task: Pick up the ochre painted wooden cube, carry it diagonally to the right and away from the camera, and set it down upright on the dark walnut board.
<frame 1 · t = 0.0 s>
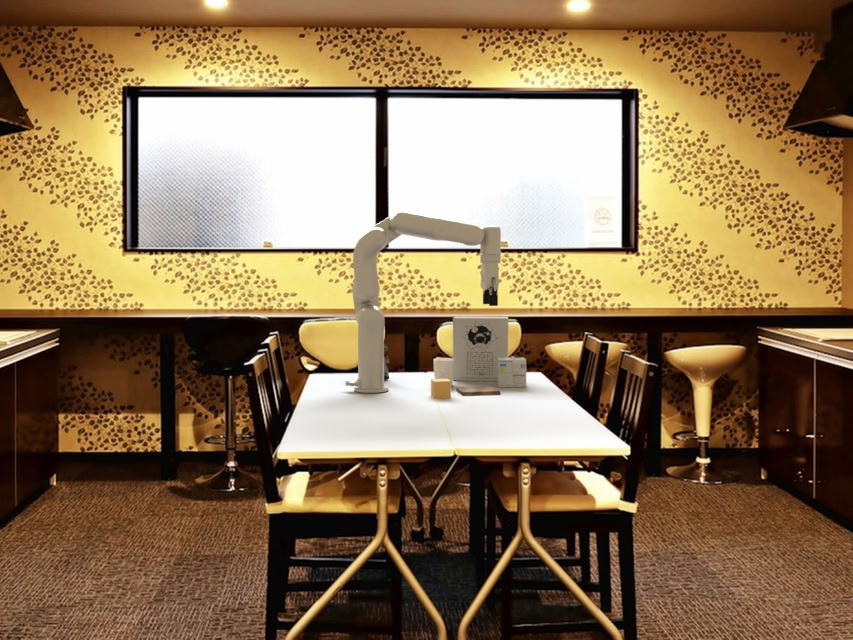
hand: (490, 304, 346), 31 cm above the table, tool pointing down, fingers open, 9 cm apart
cereal box: (480, 380, 368), on the table
white cup: (443, 385, 354), on the table
light bulb box: (511, 386, 352), on the table
ochre cube: (440, 396, 328), on the table
figurine: (373, 380, 368), on the table
walnut board: (478, 392, 337), on the table
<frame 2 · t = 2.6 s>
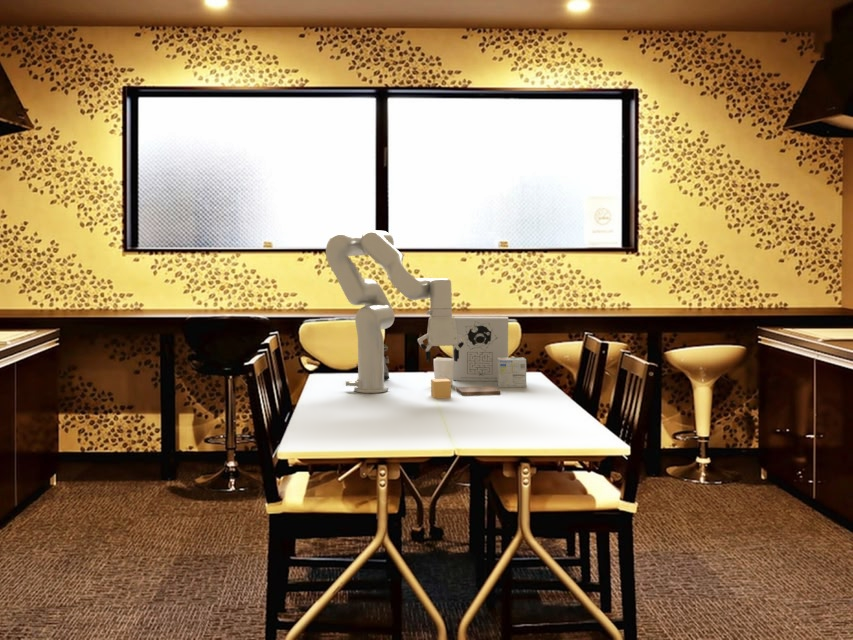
hand: (442, 361, 327), 13 cm above the table, tool pointing down, fingers open, 9 cm apart
nothing on the table moved.
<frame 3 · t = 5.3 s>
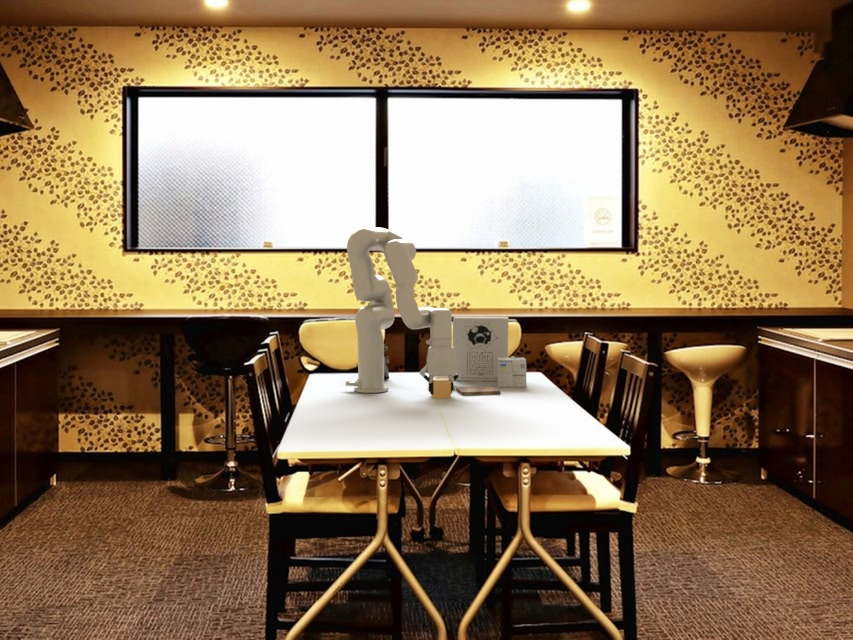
hand: (440, 393, 328), 1 cm above the table, tool pointing down, fingers closed on ochre cube, 6 cm apart
ochre cube: (440, 396, 328), on the table, touching gripper
everything else where it was.
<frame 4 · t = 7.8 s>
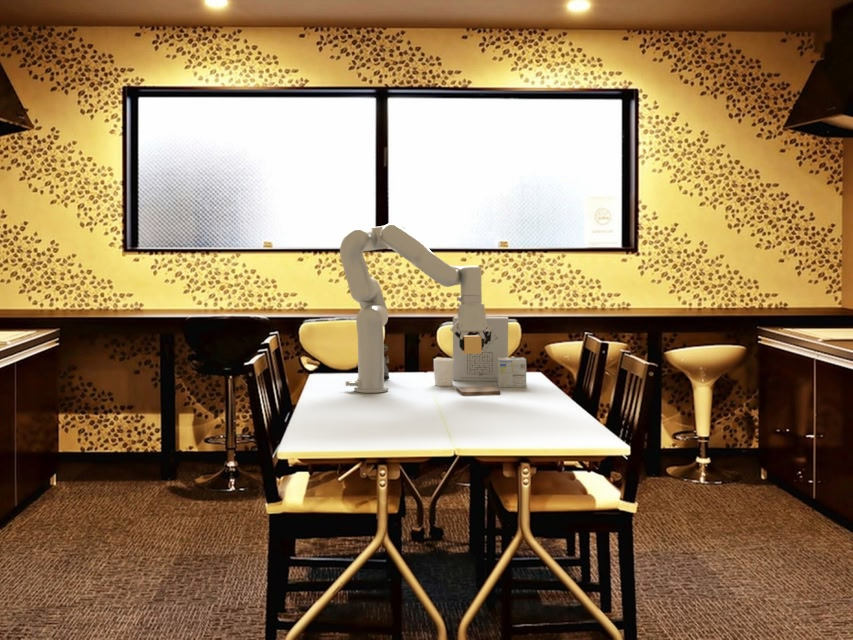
hand: (471, 349, 334), 16 cm above the table, tool pointing down, fingers closed on ochre cube, 6 cm apart
ochre cube: (471, 352, 334), point 15 cm above the table, touching gripper
everything else where it was.
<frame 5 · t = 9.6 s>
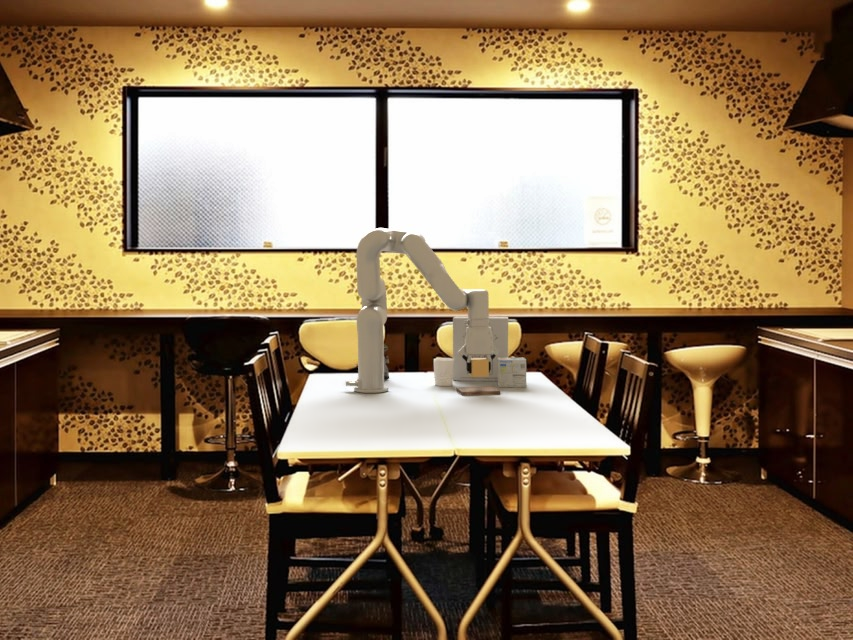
hand: (478, 372, 336), 7 cm above the table, tool pointing down, fingers closed on ochre cube, 6 cm apart
ochre cube: (478, 375, 336), point 6 cm above the table, touching gripper
everything else where it was.
when the fingers open (4 cm above the table, at t = 10.8 s): ochre cube drops 1 cm, resting on walnut board.
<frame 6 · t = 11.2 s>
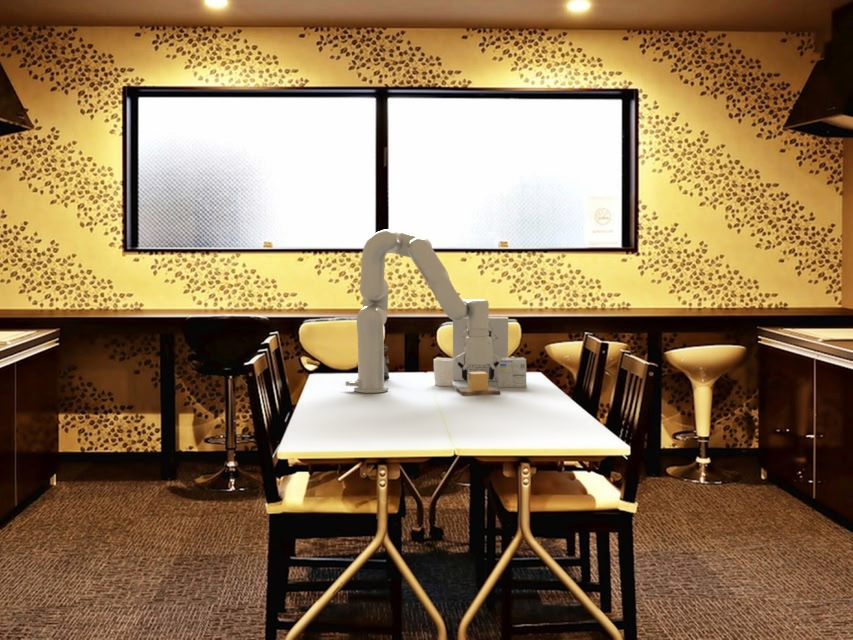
hand: (478, 379, 336), 5 cm above the table, tool pointing down, fingers open, 9 cm apart
ochre cube: (477, 389, 337), point 1 cm above the table, touching walnut board
everything else where it was.
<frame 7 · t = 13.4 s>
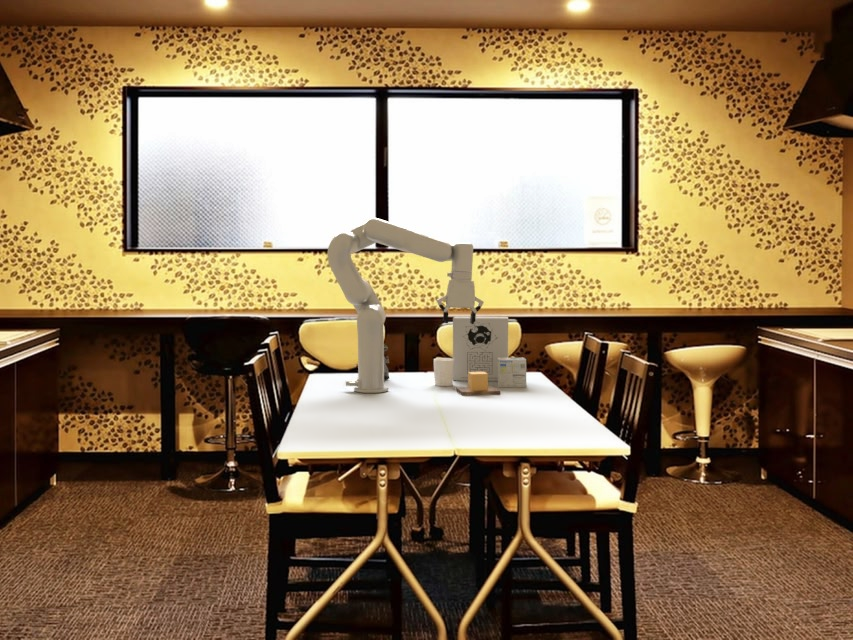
hand: (459, 323, 337), 25 cm above the table, tool pointing down, fingers open, 9 cm apart
nothing on the table moved.
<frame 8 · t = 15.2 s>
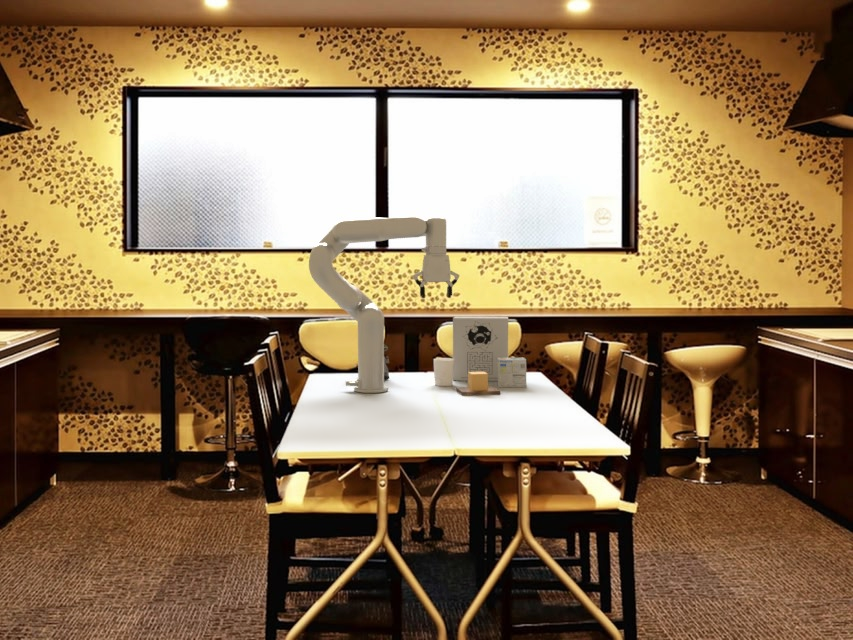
hand: (436, 297, 340), 34 cm above the table, tool pointing down, fingers open, 9 cm apart
nothing on the table moved.
at the end: ochre cube inside the target area on the walnut board (0.1 cm from its centre), point 1.2 cm above the walnut board's base; ochre cube tilted 0°; the gripper is holding nothing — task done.
